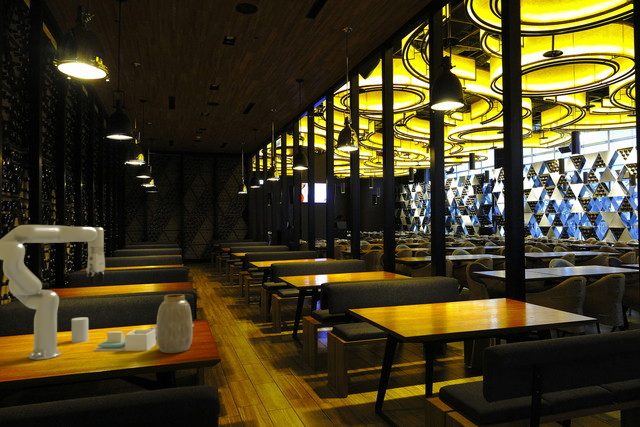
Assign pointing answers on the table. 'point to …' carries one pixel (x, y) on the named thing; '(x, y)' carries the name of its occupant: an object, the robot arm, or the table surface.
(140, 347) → the box
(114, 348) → the mat
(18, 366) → the table surface
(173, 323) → the vase
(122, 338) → the lid
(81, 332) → the cup
